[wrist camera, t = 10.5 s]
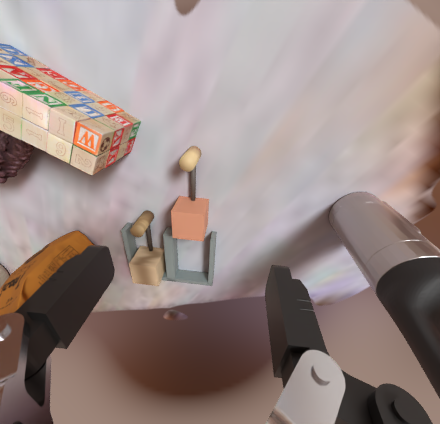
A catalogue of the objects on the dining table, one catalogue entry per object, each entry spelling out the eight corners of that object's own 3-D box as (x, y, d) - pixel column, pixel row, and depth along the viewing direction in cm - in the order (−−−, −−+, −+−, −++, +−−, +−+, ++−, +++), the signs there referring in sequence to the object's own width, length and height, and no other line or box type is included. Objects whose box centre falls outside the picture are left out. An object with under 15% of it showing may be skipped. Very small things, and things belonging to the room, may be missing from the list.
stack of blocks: (9, 86, 35) (-90, 86, 25) (10, 44, 32) (-104, 24, 22) (131, 152, 39) (91, 177, 29) (142, 120, 36) (101, 135, 26)
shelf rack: (216, 231, 47) (215, 240, 44) (213, 276, 54) (212, 285, 51) (127, 222, 47) (121, 230, 45) (136, 267, 55) (131, 276, 52)
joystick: (211, 147, 37) (206, 157, 32) (207, 223, 46) (203, 241, 41) (177, 144, 37) (167, 154, 32) (180, 220, 46) (172, 237, 41)
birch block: (161, 212, 45) (151, 228, 40) (166, 266, 54) (158, 286, 48) (133, 209, 45) (120, 225, 40) (143, 264, 54) (133, 283, 49)
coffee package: (44, 238, 52) (-68, 324, 33) (81, 224, 49) (-19, 311, 30) (72, 266, 57) (-12, 356, 38) (108, 255, 53) (35, 347, 34)
